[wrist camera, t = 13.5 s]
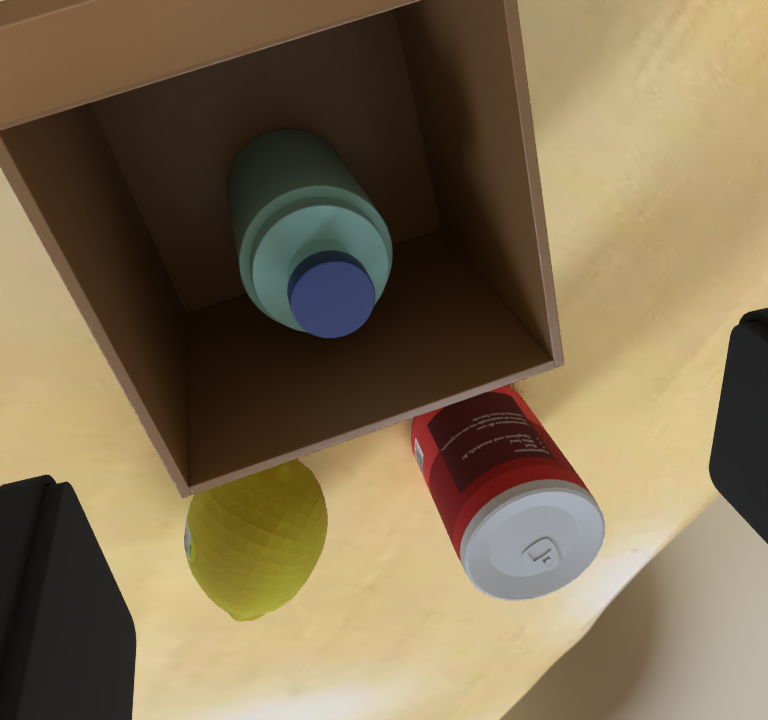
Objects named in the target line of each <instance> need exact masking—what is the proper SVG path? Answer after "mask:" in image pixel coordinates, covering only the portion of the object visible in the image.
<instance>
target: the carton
mask: <svg viewBox="0 0 768 720" xmlns="http://www.w3.org/2000/svg"><path fill="white" fill-rule="evenodd" d="M279 129H298V130H304V131H307V132H310V133H313V134H315V135H317V136H319V137H321V138H322V139H324V140H325V141H326V142H328V143H329V144H330V145H331V146H332V147H333V148H334V149H335V150H336V151H337V152H338V154H339V155H340V157H341V158H342V160H343V161H344V163H345V164H346V166H347V167H348V168H349V170H350V171H351V173H352V174H353V176H354V177H355V179H356V180H357V182H358V183H359V185H360V186H361V188H362V189H363V190H364V192H365V193H366V195H367V196H368V198H369V199H370V201H371V202H372V204H373V205H374V207H375V208H376V210H377V211H378V212H379V214H380V215H381V217H382V218H383V220H384V222H385V224H386V226H387V228H388V231H389V234H390V237H391V242H392V251H393V257H392V266H391V271H390V274H389V277H388V280H387V283H386V285H385V288H384V290H383V292H382V294H381V296H380V298H379V299H378V301H377V302H376V304H375V305H374V307H373V310H372V312H371V314H370V316H369V318H368V319H367V320H366V322H365V323H364V324H363V325H362V326H361V327H360V328H358V329H357V330H355V331H354V332H352V333H350V334H348V335H345V336H342V337H337V338H322V337H318V336H315V335H312V334H310V333H308V332H303V331H298V330H295V329H292V328H290V327H288V326H285V325H283V324H281V323H279V322H277V321H275V320H273V319H271V318H270V317H268V316H267V315H266V314H264V313H263V312H262V311H261V310H260V309H259V308H258V307H257V306H256V305H255V304H254V303H253V302H252V300H251V299H250V297H249V296H248V294H247V292H246V290H245V288H244V286H243V283H242V279H241V276H240V270H239V264H238V258H237V252H236V246H235V240H234V234H233V228H232V222H231V216H230V211H229V205H228V199H227V180H228V175H229V171H230V169H231V166H232V164H233V162H234V160H235V159H236V157H237V155H238V154H239V153H240V151H241V150H242V149H243V148H244V147H245V146H246V145H247V144H248V143H250V142H251V141H252V140H254V139H255V138H257V137H259V136H260V135H262V134H265V133H268V132H270V131H274V130H279ZM0 167H1V169H2V171H3V173H4V175H5V176H6V178H7V180H8V182H9V184H10V185H11V187H12V189H13V191H14V193H15V195H16V196H17V198H18V200H19V202H20V204H21V205H22V207H23V209H24V211H25V213H26V215H27V216H28V218H29V220H30V222H31V224H32V225H33V227H34V229H35V231H36V233H37V235H38V236H39V238H40V240H41V242H42V244H43V246H44V247H45V249H46V251H47V253H48V255H49V256H50V258H51V260H52V262H53V264H54V266H55V267H56V269H57V271H58V273H59V275H60V276H61V278H62V280H63V282H64V284H65V286H66V287H67V289H68V291H69V293H70V295H71V297H72V298H73V300H74V302H75V304H76V306H77V307H78V309H79V311H80V313H81V315H82V317H83V318H84V320H85V322H86V324H87V326H88V327H89V329H90V331H91V333H92V335H93V337H94V338H95V340H96V342H97V344H98V346H99V348H100V349H101V351H102V353H103V355H104V357H105V358H106V360H107V362H108V364H109V366H110V368H111V369H112V371H113V373H114V375H115V377H116V378H117V380H118V382H119V384H120V386H121V388H122V389H123V391H124V393H125V395H126V397H127V399H128V400H129V402H130V404H131V406H132V408H133V409H134V411H135V413H136V415H137V417H138V419H139V420H140V422H141V424H142V426H143V428H144V429H145V431H146V433H147V435H148V437H149V439H150V440H151V442H152V444H153V446H154V448H155V449H156V451H157V453H158V455H159V457H160V459H161V460H162V462H163V464H164V466H165V468H166V470H167V471H168V473H169V475H170V477H171V479H172V480H173V482H174V484H175V486H176V488H177V490H178V491H179V493H180V495H181V497H182V498H185V497H188V496H190V495H192V494H196V493H199V492H202V491H205V490H208V489H210V488H213V487H216V486H219V485H222V484H225V483H228V482H230V481H233V480H236V479H239V478H242V477H245V476H248V475H250V474H253V473H256V472H259V471H262V470H265V469H268V468H270V467H273V466H276V465H279V464H282V463H285V462H288V461H290V460H293V459H296V458H299V457H302V456H305V455H308V454H310V453H313V452H316V451H319V450H322V449H325V448H328V447H330V446H333V445H336V444H339V443H342V442H345V441H348V440H350V439H353V438H356V437H359V436H362V435H365V434H368V433H370V432H373V431H376V430H379V429H382V428H385V427H388V426H390V425H393V424H396V423H399V422H402V421H405V420H408V419H411V418H413V417H416V416H419V415H422V414H425V413H428V412H431V411H433V410H436V409H439V408H442V407H445V406H448V405H451V404H453V403H456V402H459V401H462V400H465V399H468V398H471V397H473V396H476V395H479V394H482V393H485V392H488V391H491V390H493V389H496V388H499V387H502V386H505V385H508V384H511V383H513V382H516V381H519V380H522V379H525V378H528V377H531V376H533V375H536V374H539V373H542V372H545V371H548V370H551V369H553V368H554V367H555V368H556V367H559V366H562V365H564V359H563V351H562V343H561V335H560V328H559V320H558V312H557V305H556V297H555V289H554V282H553V274H552V266H551V259H550V251H549V243H548V236H547V228H546V220H545V213H544V205H543V197H542V189H541V182H540V174H539V166H538V159H537V151H536V143H535V136H534V128H533V120H532V113H531V105H530V97H529V90H528V82H527V74H526V67H525V59H524V51H523V43H522V36H521V28H520V20H519V13H518V5H517V0H403V1H400V2H396V3H393V4H390V5H387V6H384V7H380V8H377V9H374V10H371V11H367V12H364V13H361V14H358V15H354V16H351V17H348V18H345V19H341V20H338V21H335V22H332V23H328V24H325V25H322V26H319V27H316V28H312V29H309V30H306V31H303V32H299V33H296V34H293V35H290V36H286V37H283V38H280V39H277V40H273V41H270V42H267V43H264V44H260V45H257V46H254V47H251V48H247V49H244V50H241V51H238V52H235V53H231V54H228V55H225V56H222V57H218V58H215V59H212V60H209V61H205V62H202V63H199V64H196V65H192V66H189V67H186V68H183V69H179V70H176V71H173V72H170V73H167V74H163V75H160V76H157V77H154V78H150V79H147V80H144V81H141V82H137V83H134V84H131V85H128V86H124V87H121V88H118V89H115V90H111V91H108V92H105V93H102V94H98V95H95V96H92V97H89V98H86V99H82V100H79V101H76V102H73V103H69V104H66V105H63V106H60V107H56V108H53V109H50V110H47V111H43V112H40V113H37V114H34V115H30V116H27V117H24V118H21V119H18V120H14V121H11V122H8V123H5V124H1V125H0Z"/></svg>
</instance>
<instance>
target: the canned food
mask: <svg viewBox="0 0 768 720" xmlns="http://www.w3.org/2000/svg"><path fill="white" fill-rule="evenodd" d="M411 444H412V450H413V453H414V455H415V458H416V460H417V462H418V465H419V467H420V469H421V472H422V474H423V476H424V479H425V481H426V483H427V486H428V488H429V490H430V493H431V495H432V497H433V500H434V502H435V504H436V507H437V509H438V511H439V514H440V516H441V519H442V521H443V523H444V526H445V528H446V530H447V533H448V535H449V537H450V540H451V542H452V544H453V547H454V549H455V551H456V553H457V556H458V558H459V560H460V562H461V564H462V566H463V569H464V571H465V573H466V574H467V575H468V577H469V579H470V581H471V582H472V583H473V584H474V586H475V587H476V588H477V589H479V590H480V591H481V592H483V593H484V594H486V595H489V596H491V597H493V598H497V599H502V600H510V601H521V600H528V599H534V598H538V597H541V596H545V595H547V594H550V593H552V592H554V591H557V590H559V589H561V588H562V587H564V586H566V585H567V584H569V583H571V582H572V581H573V580H574V579H576V578H577V577H578V576H580V575H581V574H582V573H583V572H584V571H585V570H586V569H587V568H588V567H589V566H590V564H591V563H592V561H593V560H594V559H595V557H596V556H597V554H598V552H599V550H600V548H601V546H602V543H603V539H604V535H605V522H604V518H603V514H602V512H601V510H600V508H599V506H598V504H597V502H596V501H595V499H594V497H593V496H592V494H591V493H590V492H589V490H588V489H587V487H586V486H585V484H584V482H583V481H582V480H581V478H580V477H579V476H578V474H577V473H576V471H575V470H574V469H573V467H572V466H571V465H570V463H569V462H568V460H567V459H566V458H565V456H564V455H563V453H562V452H561V451H560V449H559V448H558V447H557V445H556V444H555V442H554V441H553V440H552V438H551V437H550V436H549V434H548V433H547V431H546V430H545V429H544V427H543V426H542V425H541V423H540V422H539V420H538V419H537V418H536V416H535V415H534V414H533V412H532V411H531V409H530V408H529V407H528V405H527V404H526V402H525V401H524V400H523V398H522V397H521V396H520V395H519V394H518V393H517V392H516V391H515V390H514V389H513V388H511V387H509V386H508V385H505V386H502V387H499V388H496V389H493V390H491V391H488V392H485V393H482V394H479V395H476V396H473V397H471V398H468V399H465V400H462V401H459V402H456V403H453V404H451V405H448V406H445V407H442V408H439V409H436V410H433V411H431V412H428V413H425V414H422V415H419V416H416V417H414V420H413V423H412V433H411Z"/></svg>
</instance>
